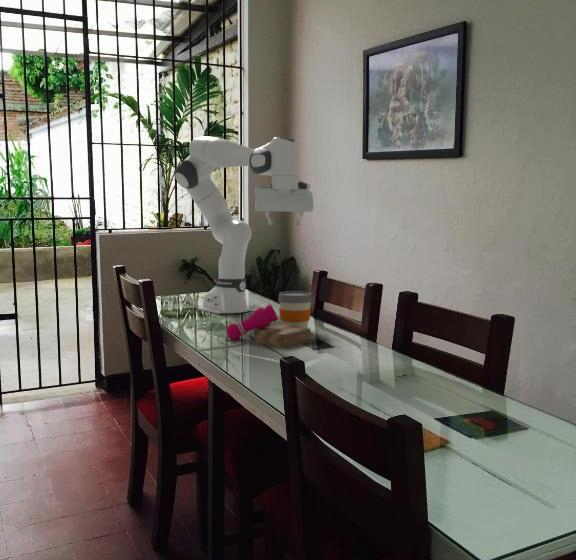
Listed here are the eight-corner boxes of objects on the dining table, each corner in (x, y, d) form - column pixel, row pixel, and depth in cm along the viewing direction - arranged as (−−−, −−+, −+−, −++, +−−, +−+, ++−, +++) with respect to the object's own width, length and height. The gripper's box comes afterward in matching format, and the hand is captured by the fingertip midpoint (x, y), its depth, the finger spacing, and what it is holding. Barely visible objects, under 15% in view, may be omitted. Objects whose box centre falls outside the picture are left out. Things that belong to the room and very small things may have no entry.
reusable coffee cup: (306, 328, 252) (306, 290, 250) (315, 335, 240) (316, 295, 238) (275, 330, 249) (275, 291, 247) (282, 336, 237) (282, 296, 235)
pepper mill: (280, 324, 227) (229, 349, 229) (277, 314, 234) (227, 339, 235) (271, 309, 224) (220, 334, 225) (268, 299, 230) (218, 324, 232)
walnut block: (254, 343, 228) (254, 329, 228) (280, 336, 239) (280, 323, 238) (284, 349, 219) (284, 334, 218) (310, 342, 230) (310, 328, 229)
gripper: (254, 184, 218) (254, 225, 220) (314, 184, 220) (314, 225, 222) (253, 184, 224) (253, 224, 226) (312, 185, 227) (311, 224, 228)
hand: (284, 224), depth 224 cm, fingers open, 8 cm apart
